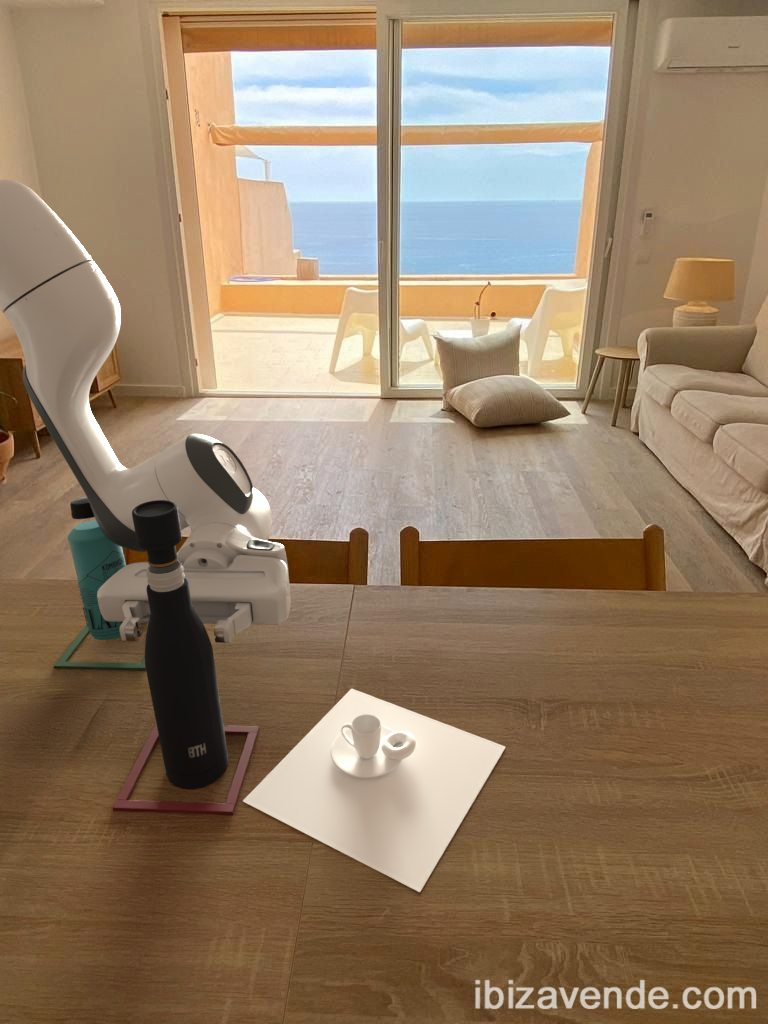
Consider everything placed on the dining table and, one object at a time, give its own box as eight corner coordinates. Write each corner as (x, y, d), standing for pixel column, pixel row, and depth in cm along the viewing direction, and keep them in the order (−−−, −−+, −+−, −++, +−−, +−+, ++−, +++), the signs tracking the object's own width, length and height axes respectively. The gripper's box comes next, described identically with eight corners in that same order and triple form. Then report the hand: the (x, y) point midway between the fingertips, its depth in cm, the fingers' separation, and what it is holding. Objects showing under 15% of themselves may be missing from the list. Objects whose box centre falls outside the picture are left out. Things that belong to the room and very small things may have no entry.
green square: (54, 668, 89) (53, 665, 89) (94, 617, 100) (94, 614, 100) (145, 670, 89) (144, 668, 88) (176, 618, 99) (175, 616, 99)
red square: (112, 810, 68) (112, 807, 68) (155, 726, 79) (155, 723, 79) (232, 814, 68) (232, 811, 67) (259, 728, 79) (259, 726, 78)
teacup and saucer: (424, 745, 76) (424, 716, 74) (387, 795, 69) (386, 764, 68) (356, 718, 80) (355, 690, 78) (315, 763, 74) (313, 733, 72)
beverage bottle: (81, 650, 92) (45, 507, 86) (111, 627, 98) (79, 491, 92) (124, 652, 90) (90, 506, 84) (152, 628, 96) (122, 490, 90)
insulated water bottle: (197, 737, 77) (156, 489, 65) (241, 758, 74) (207, 502, 62) (153, 774, 72) (99, 514, 60) (198, 799, 69) (151, 529, 57)
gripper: (121, 542, 80) (64, 606, 67) (297, 544, 79) (273, 610, 66) (131, 589, 82) (77, 660, 70) (301, 592, 81) (278, 665, 69)
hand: (174, 636), depth 68 cm, fingers open, 8 cm apart
